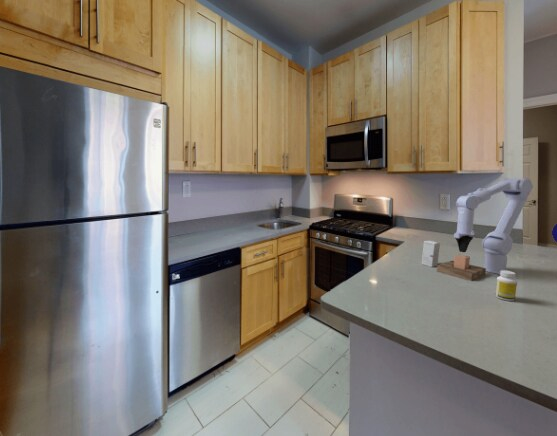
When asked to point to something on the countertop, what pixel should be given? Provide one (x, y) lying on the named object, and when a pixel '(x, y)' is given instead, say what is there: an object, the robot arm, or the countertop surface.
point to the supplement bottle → (506, 286)
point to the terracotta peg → (461, 261)
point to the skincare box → (430, 253)
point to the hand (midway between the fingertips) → (462, 251)
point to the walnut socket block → (461, 271)
